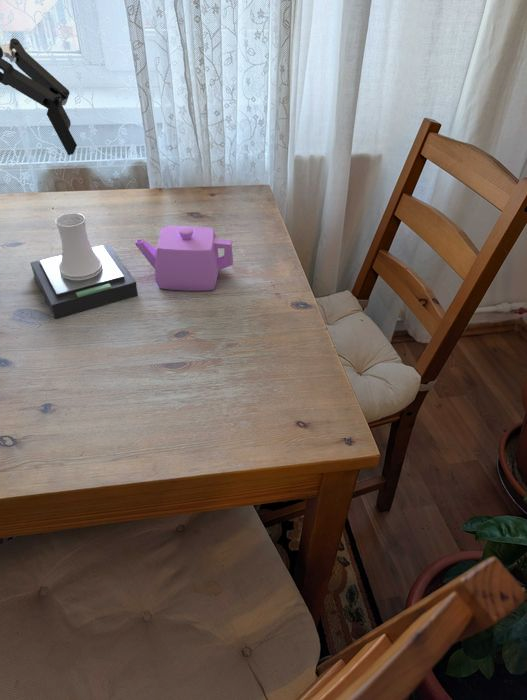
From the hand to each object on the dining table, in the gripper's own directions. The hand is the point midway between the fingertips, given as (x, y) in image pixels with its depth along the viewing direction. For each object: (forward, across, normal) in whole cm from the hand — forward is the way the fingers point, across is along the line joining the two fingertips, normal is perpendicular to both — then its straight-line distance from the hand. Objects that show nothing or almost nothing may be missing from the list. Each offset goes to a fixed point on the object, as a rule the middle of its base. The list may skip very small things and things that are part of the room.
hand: (27, 161), depth 72 cm
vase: (+12, -7, -22) cm, 26 cm away
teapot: (+22, -24, -18) cm, 36 cm away
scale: (+15, -7, -24) cm, 29 cm away
